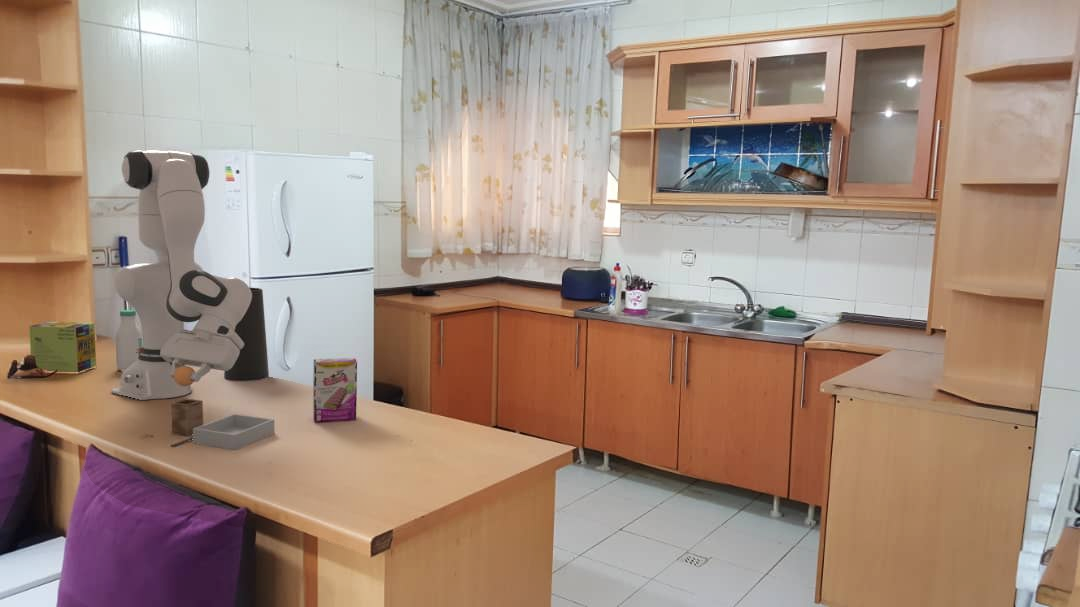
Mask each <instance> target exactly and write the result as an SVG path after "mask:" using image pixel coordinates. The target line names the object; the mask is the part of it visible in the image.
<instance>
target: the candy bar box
mask: <svg viewBox="0 0 1080 607" xmlns="http://www.w3.org/2000/svg"><path fill="white" fill-rule="evenodd" d="M312 374H313V378H312V379H313V380H312V381H313V382H312V383H313V386H312V388H313V390H312V392H313V393H312V394H313V395H312V396H313V398H312V400H313V401H312V402H313V403H312V406H313V407H312V408H313V409H312V410H313V413H312V416H313V422H314V423H325V422H326V423H328V421H329V422H342V420H345V421H356V420H357V392H358V391H357V390H358V384H357V382H358V381H357V378H358V361H357V359H356V357H355V358H354V357H353V358H352V357H346V358H345V357H344V358H338V357H337V358H314V359H313V373H312ZM355 419H356V420H355Z"/></svg>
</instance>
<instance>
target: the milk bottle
mask: <svg viewBox="0 0 1080 607" xmlns="http://www.w3.org/2000/svg"><path fill="white" fill-rule="evenodd" d="M119 316H120V323H119V326H118V328H117V330H116V334H115V356H116V357H115V358H116V360H115V361H116V370H117V369H118V370H126V369H127V368H128V367H129V366H131V365H132V364H133V363H134V362H136V361H137V360H138V357H139V354H140V353H136V352H137V351H139V350H136V349H140V348H142V347H143V339H142V330H141V329H140V327H139V324H137V320H136V317H137V312H136V310H135V309H123V310H120V311H119ZM118 370H117V371H118Z"/></svg>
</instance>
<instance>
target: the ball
mask: <svg viewBox="0 0 1080 607" xmlns="http://www.w3.org/2000/svg"><path fill="white" fill-rule="evenodd" d="M193 372H195V373H196V371H195V369H194V368H193V367H191V366H190V365H187V366H182V367H180V368H178V369H177V370H176V371H175V373H174V380H175V382H176V383H177V384H178V385H180V386H189V385H191V386H192V384H193V383H194V381H192V380H191V379H190V376H191V375H192V373H193Z"/></svg>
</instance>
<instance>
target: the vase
mask: <svg viewBox="0 0 1080 607" xmlns="http://www.w3.org/2000/svg"><path fill="white" fill-rule="evenodd" d="M249 288H250V290H251V292H252V299H251V302H250V305H249V307H248V309H247V311H246V313H245V315H244V316H243V318H242V319H241V321H240V322H238V323H237V325H236V327H235V330H234V332H235V333H236V334H237V335H238V336H239V337H240V338H241V340H242V341H243V342H244V346H243V348H242V349H240V353H239V356H238V358H237V360H236V362H235V363H234V365H233V367H232V368H231V369H229V370H228V371H223V372H224V375H223V377H224V379H225V380H228V381H233V382H236V381H237V382H248V381H250V382H251V381H258V380H263V379H266V378H267V377H269V376H270V375H269V374H270V373H269V362H268V361H269V359H268V357H269V356H268V347H267V346H268V345H267V332H266V320H265V308H264V307H265V304H264V292H263V289H262V288H259V287H249Z"/></svg>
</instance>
